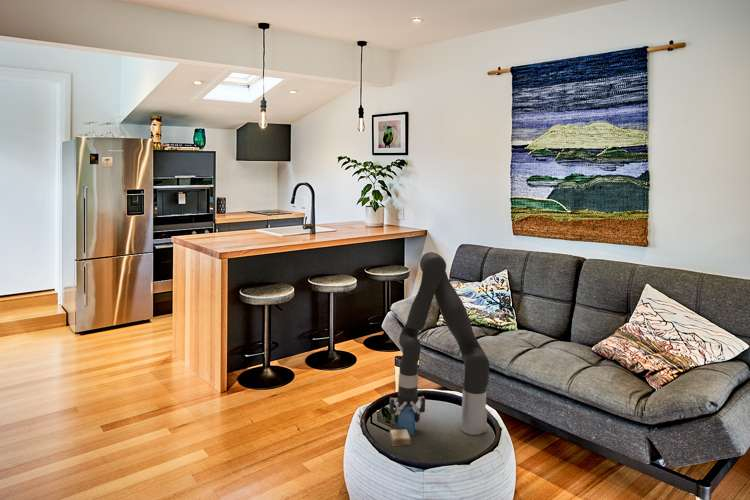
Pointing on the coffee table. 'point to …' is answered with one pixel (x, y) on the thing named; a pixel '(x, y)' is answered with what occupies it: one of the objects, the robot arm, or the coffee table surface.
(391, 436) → the pedestal
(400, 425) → the perfume bottle
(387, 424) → the coffee table surface
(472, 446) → the coffee table surface
